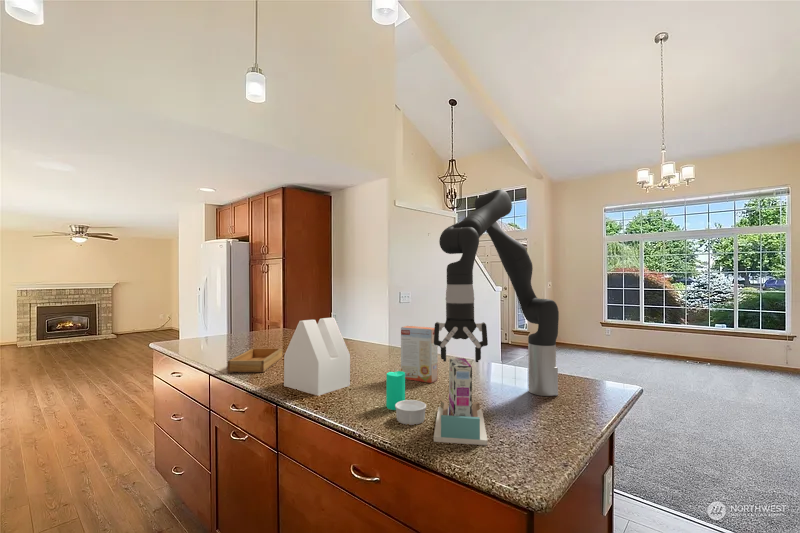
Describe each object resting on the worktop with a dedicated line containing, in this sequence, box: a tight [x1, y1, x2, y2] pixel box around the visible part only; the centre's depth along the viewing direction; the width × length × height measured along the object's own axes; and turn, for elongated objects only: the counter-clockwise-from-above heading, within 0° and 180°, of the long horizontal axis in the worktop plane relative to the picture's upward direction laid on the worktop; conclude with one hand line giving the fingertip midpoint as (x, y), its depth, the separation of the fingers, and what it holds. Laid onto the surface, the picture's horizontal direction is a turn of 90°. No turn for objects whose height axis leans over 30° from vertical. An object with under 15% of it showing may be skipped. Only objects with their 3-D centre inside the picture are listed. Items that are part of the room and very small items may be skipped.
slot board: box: [433, 399, 488, 446], centre depth 103 cm, size 13×22×6 cm, turn 171°
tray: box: [227, 347, 283, 374], centre depth 175 cm, size 31×15×6 cm, turn 3°
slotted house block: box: [283, 317, 351, 396], centre depth 142 cm, size 19×15×25 cm
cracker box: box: [400, 325, 439, 384], centre depth 151 cm, size 14×6×21 cm, turn 59°
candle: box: [385, 370, 406, 411], centre depth 119 cm, size 6×6×12 cm
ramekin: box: [395, 399, 427, 426], centre depth 108 cm, size 9×9×4 cm
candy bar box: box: [448, 357, 473, 417], centre depth 103 cm, size 11×5×16 cm, turn 0°
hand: (460, 361), depth 101 cm, fingers open, 8 cm apart
